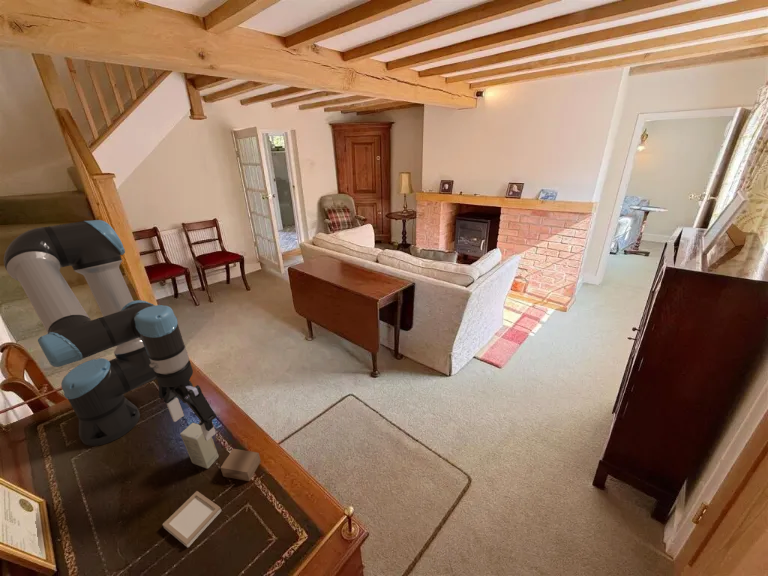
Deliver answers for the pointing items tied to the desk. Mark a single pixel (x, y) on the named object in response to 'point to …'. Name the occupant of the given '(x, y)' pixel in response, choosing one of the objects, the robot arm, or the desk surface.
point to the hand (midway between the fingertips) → (194, 427)
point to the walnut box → (240, 464)
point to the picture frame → (192, 518)
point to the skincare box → (199, 446)
